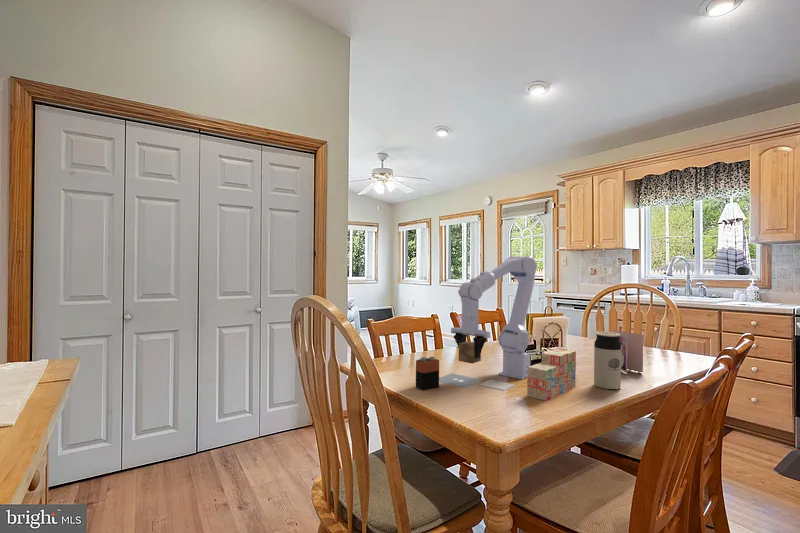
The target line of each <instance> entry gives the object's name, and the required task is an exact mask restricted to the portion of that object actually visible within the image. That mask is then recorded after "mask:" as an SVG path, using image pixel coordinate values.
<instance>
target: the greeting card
mask: <svg viewBox="0 0 800 533" xmlns="http://www.w3.org/2000/svg"><path fill="white" fill-rule="evenodd" d="M614 333H619V334H620V337H619V341H620V343H621V370H622V371H624V372H626V373H627V374H628V371H627V369H629V370H634V371H638V372H643V373H644V334H642V333H640V334H639V333H634V332H627V331H623V330H621V331H620V330H614Z"/></svg>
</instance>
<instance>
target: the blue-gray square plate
mask: <svg viewBox="0 0 800 533" xmlns="http://www.w3.org/2000/svg"><path fill="white" fill-rule="evenodd" d="M482 381H484V379H479V378H474V377H471V376H466V375H462V374H456V373H452V372H451V373H449V374H447V375H444V376H441V377H440V376H439V383H442V384H443V383H444V384H447V385H451V386H455V387H459V388H463V389H466V388H468V387H471V386H473V385H475V384H477V383H480V382H482Z"/></svg>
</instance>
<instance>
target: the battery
mask: <svg viewBox="0 0 800 533" xmlns="http://www.w3.org/2000/svg"><path fill="white" fill-rule="evenodd" d="M439 378H440V360H439V359H436V358H435V356H429V357H426V356H425V357H424V356H422V357H420V358H419V359H416V360H415V388H417V389H419V390H421V391H427V390H432V389H433V390H434V389H437V388H440V382H439Z"/></svg>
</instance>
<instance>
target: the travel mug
mask: <svg viewBox="0 0 800 533" xmlns="http://www.w3.org/2000/svg"><path fill="white" fill-rule="evenodd" d="M595 336H596V339H595V340H594V342H593V343H594V344H593V345H594V346H593V349H594V354H593V355H594V358H593V362H594V363H593V385H594V386H595V387H597V386H598V387H597V388H599V387H601V388H600V389H602V388H606V389H605V390H608V389H617V388H619V389H621V388H620V387H622V386H621V381H622V379H621V376H622V375H621V373H622V372H621V343H620V341H619V337H620V334H619V333H614V332H612V331H596V332H595ZM617 390H618V389H617Z"/></svg>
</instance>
